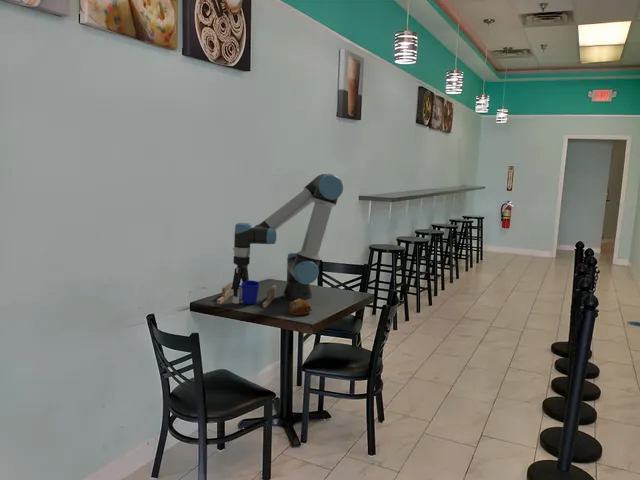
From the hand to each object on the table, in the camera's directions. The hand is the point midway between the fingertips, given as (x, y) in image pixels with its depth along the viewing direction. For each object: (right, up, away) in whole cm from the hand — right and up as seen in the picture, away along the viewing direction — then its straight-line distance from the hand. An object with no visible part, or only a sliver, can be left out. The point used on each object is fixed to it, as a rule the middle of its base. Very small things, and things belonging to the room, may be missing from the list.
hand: (239, 299), depth 247 cm
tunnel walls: (+3, -1, +14) cm, 14 cm away
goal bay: (+1, -2, +3) cm, 4 cm away
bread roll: (+31, -6, -11) cm, 33 cm away
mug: (+2, -2, +4) cm, 5 cm away
